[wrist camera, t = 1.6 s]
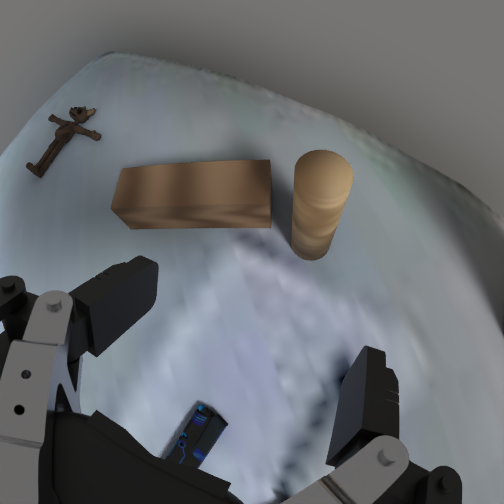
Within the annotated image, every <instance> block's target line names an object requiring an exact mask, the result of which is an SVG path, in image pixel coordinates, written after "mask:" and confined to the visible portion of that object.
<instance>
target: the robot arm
mask: <svg viewBox="0 0 504 504" xmlns="http://www.w3.org/2000/svg"><path fill="white" fill-rule="evenodd" d="M158 269H159V267H158V264H157V262H154V261H152V260H150V259H148V258H145V257H143V256H137V257H135V258H134V259H132V260H131V261H129V262H127V263H126V262H124V263H120V264H116V265H112V266H111V267H109V268H108V269H106V270H104V271H103V273H102V272H101V273H99V274H98V275H96V277H95V278H94V277H93V278H91V279H90V280H88V281H87V282H85V283H83V284H82V285H80V286H79V287H77V288H76V289H74V290H73V291H71V292H69V293H68V294H67V293H65V292H62V291H49V292H46V293H44V294H42V295H40V296H38V295H35V294H32V293H29V292H26V287H25V283H24V280H23V279H22V278H20V277H18V276H6V277H3V278H1V279H0V321H2V323H3V326H4V329H5V331H4V332H2V333H1V334H0V504H244V503H243V502H242V501H241V500H239V499H238V498H237V497H236V496H235V495H233V494H232V493H231V492H229V491H228V489H229V487H230V485H231V483H230V482H227V481H225V480H222V479H220V478H218V477H215V476H213V475H211V474H208V473H206V472H204V471H202V470H200V469H197V468H195V467H192V466H187V465H183V464H179V463H176V462H172V461H168V460H165V459H161V458H158V457H155V456H153V455H152V454H150V453H149V452H148V451H147V450H146V449H145V448H144V447H143V446H142V445H141V444H140V443H139V442H138V441H137V440H136V439H135V438H134V437H133V436H132V435H131V434H130V433H129V432H128V431H127V430H126V429H124V428H123V427H121V426H120V425H118V424H117V423H115V422H113V421H112V420H111V419H109V418H108V417H106V416H105V415H103V414H102V413H100V412H99V411H97V410H96V411H95V412H94V413H93V414H92V415H91V416H88V415H84V414H82V413H81V407H80V386H81V374H82V364H83V357H82V355H83V354H84V353H85V352H86V351H88V352H90V353H91V354H92V355H94V356H95V357H98V356H99V355H100V354H101V353H102V352H103V351H105V350H106V349H107V348H108V347H109V346H110V345H111V344H112V343H113V342H115V341H116V340H117V339H118V338H119V337H120V336H121V335H122V334H123V333H125V332H126V331H127V330H128V329H129V328H130V327H131V326H132V325H134V324H135V323H136V322H137V321H138V320H139V319H140V318H141V317H143V316H144V315H145V314H146V313H147V312H148V311H149V310H150V309H151V308H152V307H153V305H154V303H155V300H156V296H157V282H158ZM398 393H399V386H398V380H397V377H396V375H395V373H394V371H393V369H390V368H386V354H385V352H384V351H381V350H378V349H375V348H372V347H369V346H364V347H363V349H362V350H361V352H360V353H359V355H358V357H357V358H356V360H355V362H354V363H353V365H352V366H351V368H350V370H349V371H348V373H347V374H346V376H345V378H344V380H343V383H342V386H341V389H340V395H339V401H338V406H337V412H336V417H335V422H334V427H333V432H332V437H331V442H330V446H329V451H328V455H327V460H326V465H330V466H334V467H335V470H334V471H332V472H331V473H330V474H328V475H327V476H324V477H322V478H321V479H319V480H317V481H316V482H314V483H313V484H311V485H310V486H308V487H307V488H305V489H304V490H302V491H300V492H299V493H297V494H296V495H294V496H292V497H291V498H289V499H287V500H286V501H284V502H282V503H280V504H462V482H461V478H460V476H459V475H458V473H457V472H456V471H455V470H454V469H452V468H450V467H448V466H439V467H437V468H435V469H434V470H432V471H431V472H429V471H427V470H426V469H424V468H422V467H420V466H418V465H416V464H414V463H412V462H411V461H410V460H409V453H408V451H407V448H406V447H405V445H404V444H403V443H402V442H401V441H400V440H399V405H398V404H399V395H398Z"/></svg>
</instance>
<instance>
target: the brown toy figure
mask: <svg viewBox="0 0 504 504" xmlns="http://www.w3.org/2000/svg"><path fill="white" fill-rule="evenodd" d="M95 111H96V109H95V108H93V109H90V110H86V107H85V106H84V107H78V108H77V107H74V108H72V107H71V109H70V112H69V114H70V116H71V117H72V118H73V119H74V120H75V122H71V121H64V120H62V119H60V118H57V117H56V116H54V115H53V114H52V115H51V116H50V117H49V118H48V120H49V121H51V122H55V123H57V124H59V125H61V126H60V127H59V128H58V129H57V130H56V132H55V137H56V138H55V139H54V141H53V142H52V143H51V144H50V145H49V148H48V149H47V151H46V152H45V153H44V155H43V156H42V158H41V159H40V161H39V162H38V163H37V164H36V166H35V165H33V164H32V163H30V162H28V163H27V165H26V168H27V169H29V170H30V171H31V172H32V173H34V174H35V175H37V176H38V177H40V178H41V177H42V176H43V175H44V173H45V171H46V170H47V169H48V167H49V165H50V164H51V163H52V162H53V159H54V158H55V156H56V155H57V153H58V152H59V151H60V149H61V148H62V146H63V145H64V144H65V143H67V142H68V141H69V140H70V139H71V137H72V136H73V134H74V133H75V132H76V133H79V134H82V135H86V136H88V137H90V138H92V139H93V140H95V141H98V140H99V139H100V138H101V135H100V134H99V133H96V132H95V130H94V131H90V130H87V129H85V128H83V127H80V126H79V125H77V123H85V122H86V121H87V120H88V119H89V116H91V115H92V114H94V112H95ZM56 145H57V146H56ZM49 155H50V156H49Z"/></svg>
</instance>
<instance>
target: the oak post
mask: <svg viewBox="0 0 504 504" xmlns="http://www.w3.org/2000/svg"><path fill="white" fill-rule="evenodd" d="M352 182H353V171H352V168H351V166H350V164H349V163H348V162H347V161H346V160H345V159H344V158H343V157H342V156H340V155H339V154H337V153H334V152H332V151H328V150H314V151H310V152H308V153H306V154H304V155H303V156H301V157H300V158H299V160H298V161H297V163H296V165H295V172H294V193H293V212H292V229H291V247H292V249H293V251H294V252H295V254H296V255H297V256H299V257H300V258H302V259H305V260H310V261H312V260H317V259H320V258H322V257H323V256H324V255H325V254H326V253H327V251H328V249H329V247H330V244H331V241H332V239H333V236H334V233H335V231H336V228H337V225H338V223H339V220H340V217H341V214H342V211H343V209H344V206H345V203H346V200H347V197H348V194H349V191H350V188H351V185H352Z"/></svg>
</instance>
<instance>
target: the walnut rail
mask: <svg viewBox="0 0 504 504" xmlns="http://www.w3.org/2000/svg"><path fill="white" fill-rule="evenodd" d="M111 210H112V211H113V212H114V213H115V214H116V215H117V216H118V217H119V218H120V219H121V220H122V221H123V222H124V223H125V224H126V225H127V226H128V227H129V228H130V229H163V228H271V217H272V179H271V165H270V160H232V161H209V162H191V163H177V164H164V165H153V166H143V167H133V168H124V169H122V171H121V174H120V177H119V181H118V184H117V188H116V191H115V195H114V198H113V202H112V206H111Z"/></svg>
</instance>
